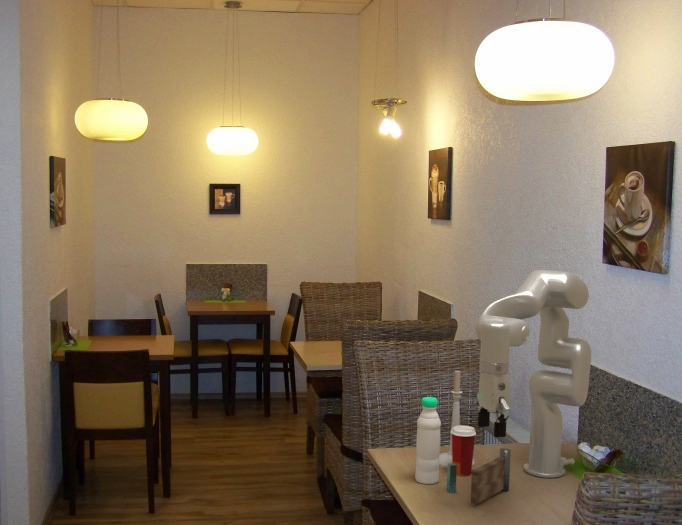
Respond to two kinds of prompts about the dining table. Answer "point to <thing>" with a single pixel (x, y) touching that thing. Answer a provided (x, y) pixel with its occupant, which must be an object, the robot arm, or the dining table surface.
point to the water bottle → (428, 443)
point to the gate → (487, 480)
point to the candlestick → (453, 420)
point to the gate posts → (453, 470)
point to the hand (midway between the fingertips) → (491, 431)
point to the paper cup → (463, 448)
